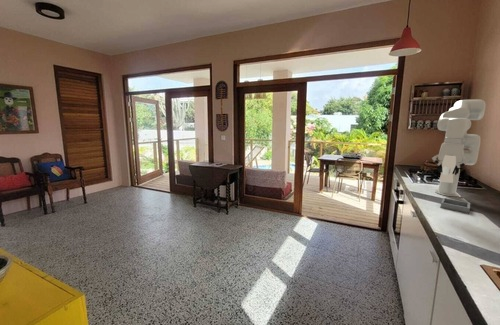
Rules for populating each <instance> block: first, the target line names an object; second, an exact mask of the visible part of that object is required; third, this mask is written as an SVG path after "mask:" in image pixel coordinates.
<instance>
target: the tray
mask: <svg viewBox="0 0 500 325" xmlns="http://www.w3.org/2000/svg"><path fill="white" fill-rule="evenodd" d="M439 207H440V208H441V209H444V210H445V209H446V210H451V211H455V212H459V213H464V214H470V209H471V202H468V201H462V200H457V199H452V198H447V197H442V200H441V203H440V206H439Z"/></svg>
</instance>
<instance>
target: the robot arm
mask: <svg viewBox="0 0 500 325" xmlns="http://www.w3.org/2000/svg"><path fill="white" fill-rule="evenodd" d="M486 106H487V105H486V102H485V100H483V99H480V98H479V99H460V100H457V101H456V102H454V104H453V106H452V107H450V108H449V109H448V111H445V112H443V113H442V114H441V115H440V116H439V119H438V121H437V126H436V127H437V130H439V131H441V132H442V131H443V132H445V136H444V140H443V142H442V143H441V145H440V147H439V148H440V149H439V152H438V154H436V155H434V156H433V157H431V159H432V161H434V163H435V164H436V165H437V170H436V172H437V171H438V173H440V174H441V163H442V161H443V158H444V156H445V155H450V156H456V163H457V167H456V170H455V172H454V175H453V183H447V182H441V181H439V185H438V189H435V193H436V194H438V195H442V196H448V197H453V198H454V197H459V193H458V192H457V188H458V183H459V178H460V173H461V169H460V168H462V167H464V166H466V165H467V166H473V165H474V166H475V164H477V161H478V158H479V152H480V148H481V147H480V146H481V142H482V141H481V140H482V139H481V136H480V135H479V134H474V133H468V130H469V129H470V128H471V126H472V121H480V120H482V119H483V117H484V116H485V112H486V108H487V107H486ZM466 149H468V150H466Z"/></svg>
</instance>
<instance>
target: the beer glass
mask: <svg viewBox="0 0 500 325" xmlns="http://www.w3.org/2000/svg"><path fill="white" fill-rule="evenodd" d="M456 167H457V163H456V156H450V155H445V156H444V158H443V161H442V163H441V171H440V177H439V180H438V181H439V182H440V181H441V182H447V183H453V175H454V172H455V170H456Z"/></svg>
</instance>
